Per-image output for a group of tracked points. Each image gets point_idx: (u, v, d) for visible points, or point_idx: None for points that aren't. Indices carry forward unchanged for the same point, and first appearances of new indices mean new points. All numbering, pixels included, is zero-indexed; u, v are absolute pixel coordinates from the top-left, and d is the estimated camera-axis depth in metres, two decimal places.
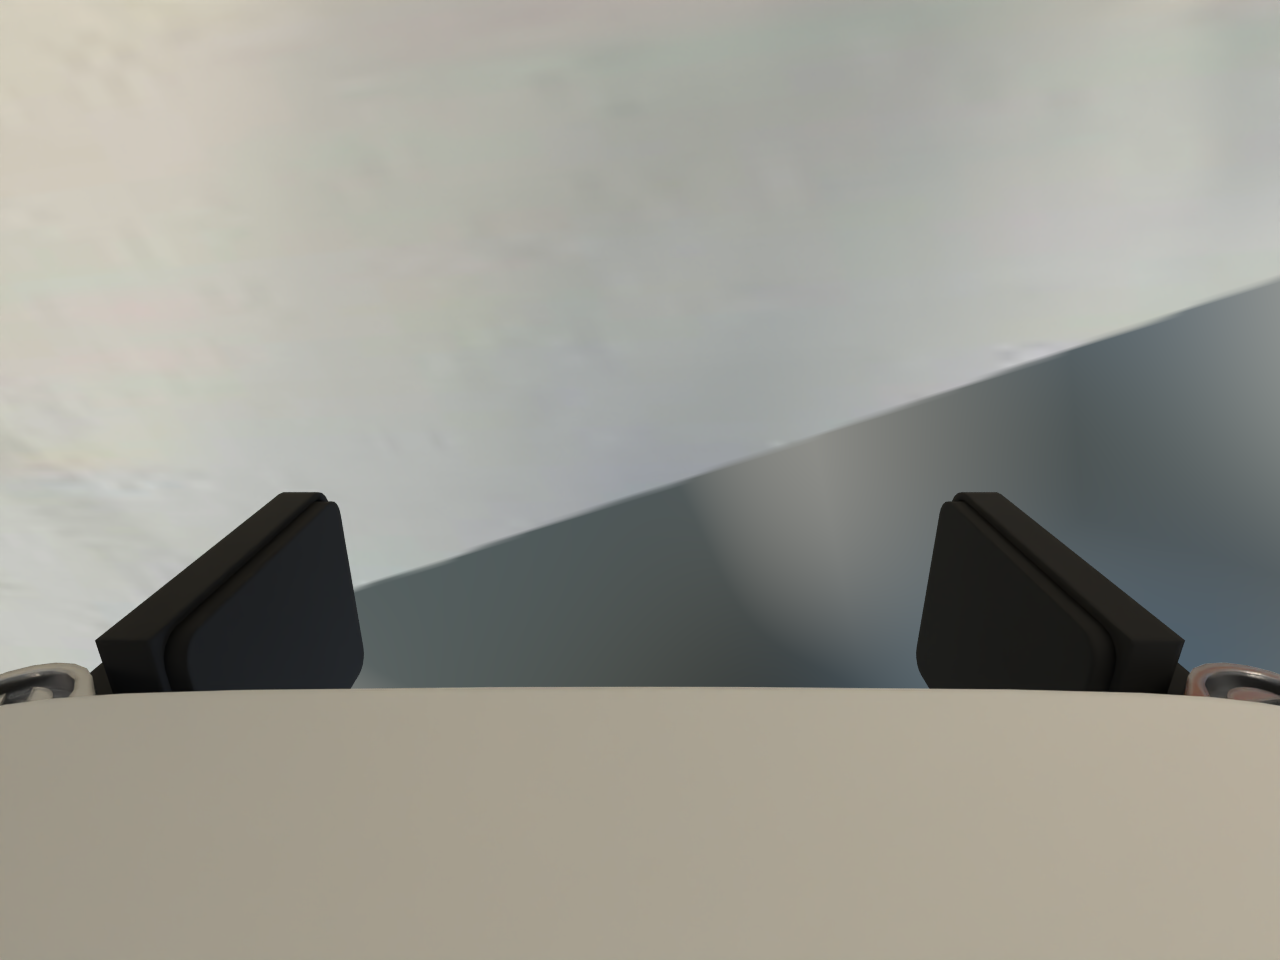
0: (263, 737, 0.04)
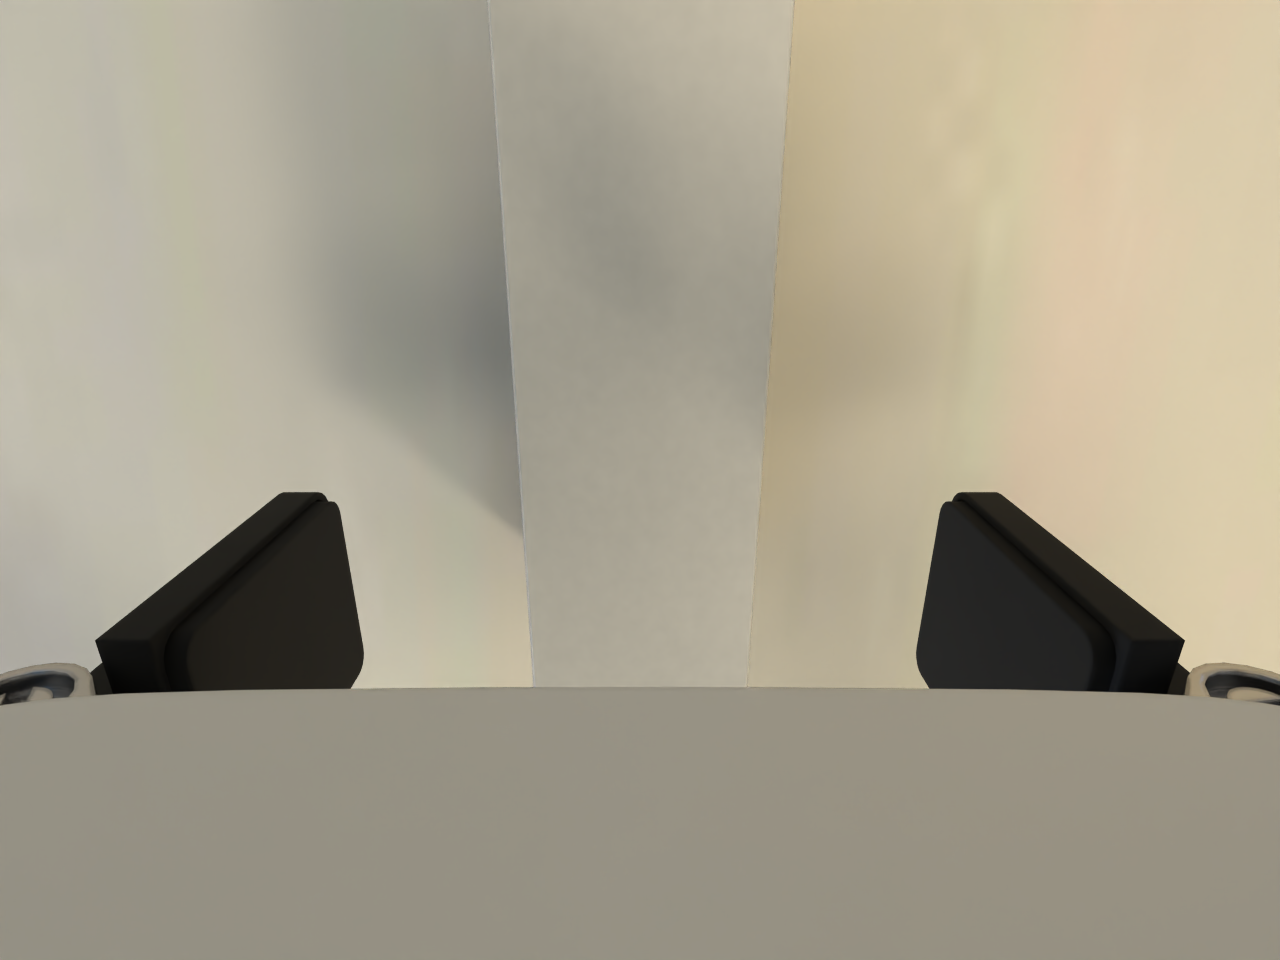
0: (263, 737, 0.04)
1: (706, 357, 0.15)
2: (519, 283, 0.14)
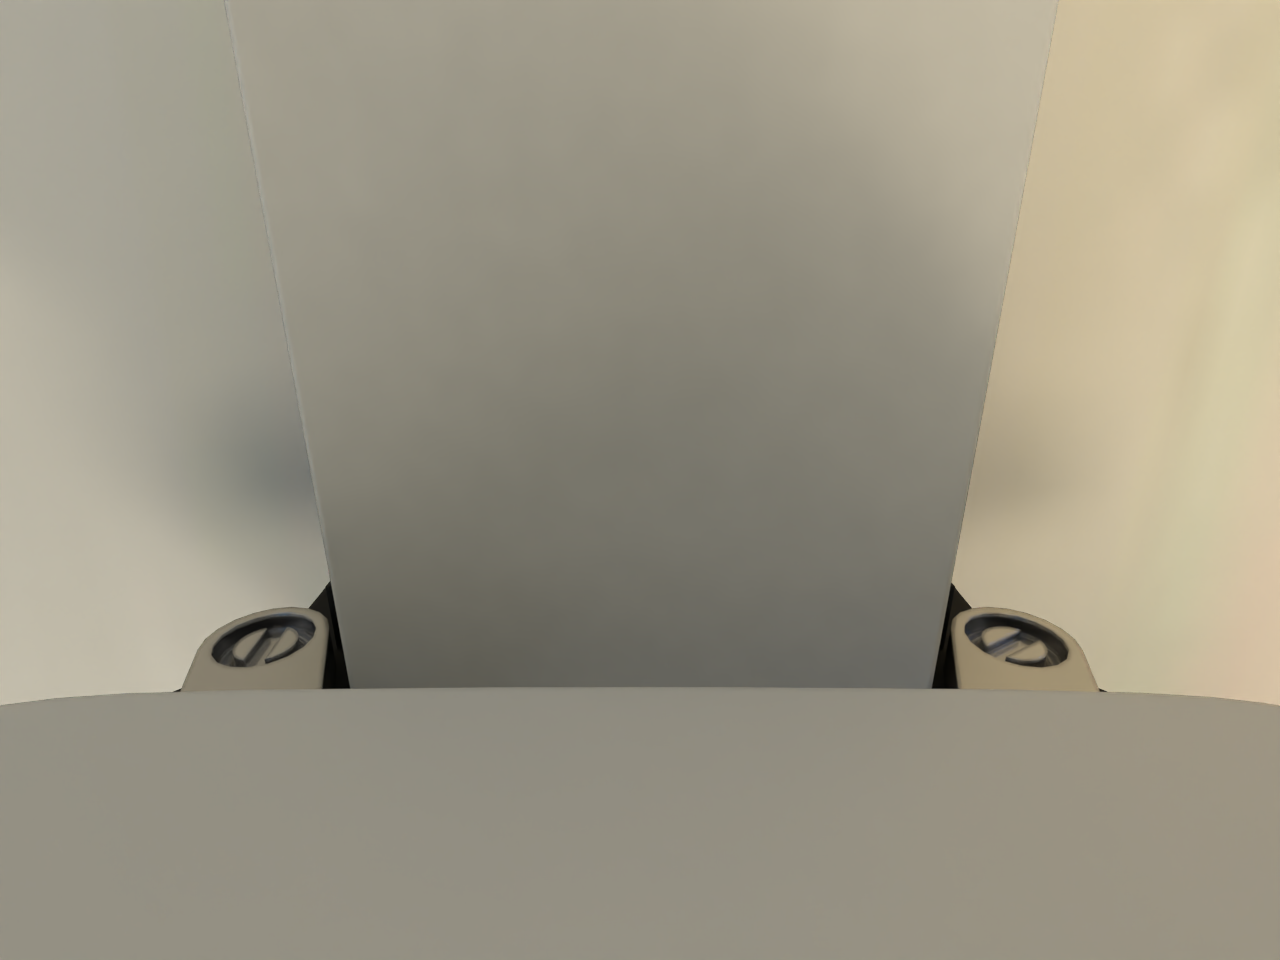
0: (263, 737, 0.04)
1: (800, 573, 0.06)
2: (329, 404, 0.05)
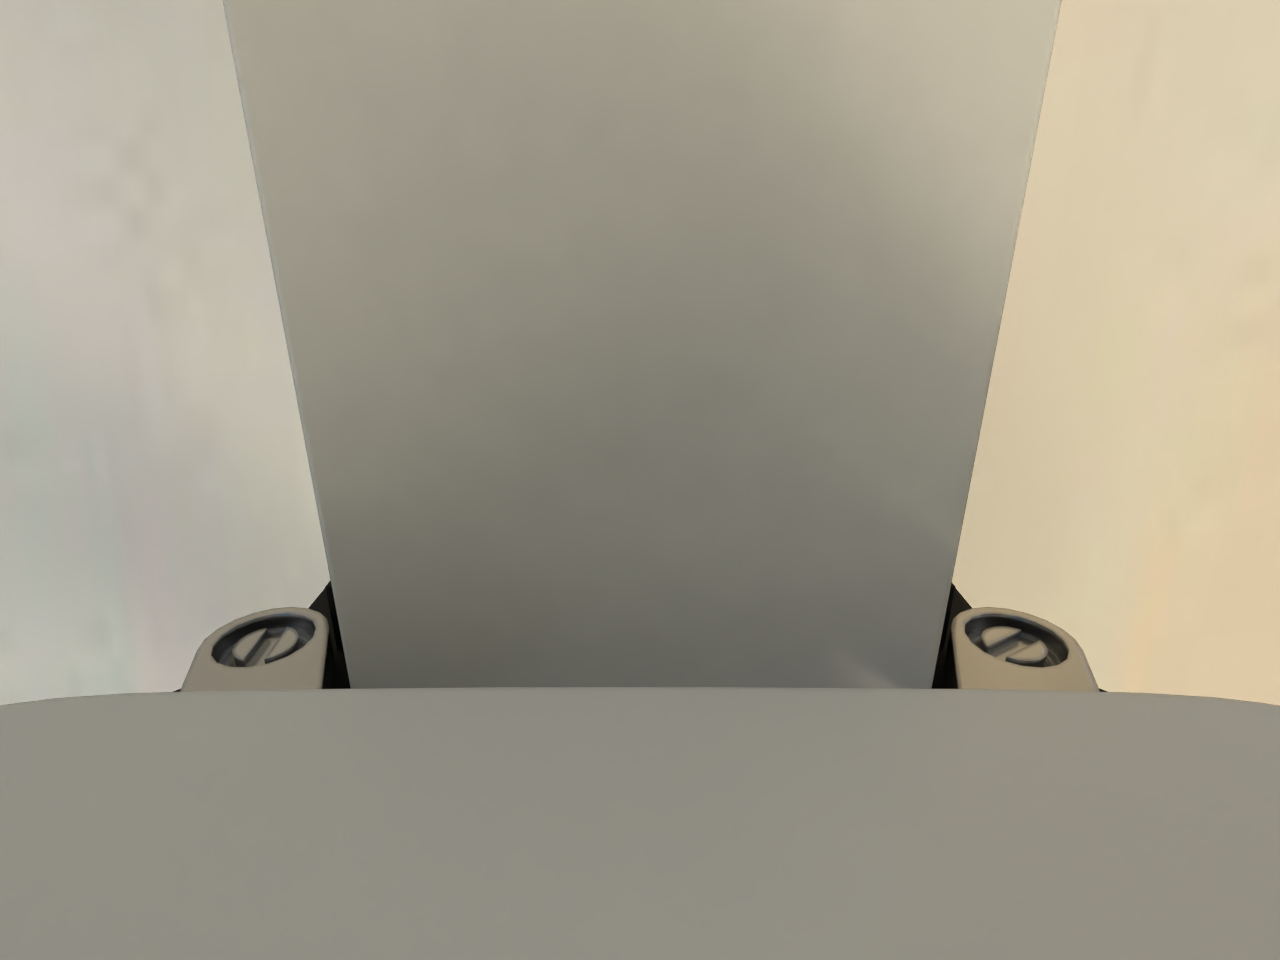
0: (263, 737, 0.04)
1: (801, 572, 0.06)
2: (328, 403, 0.05)
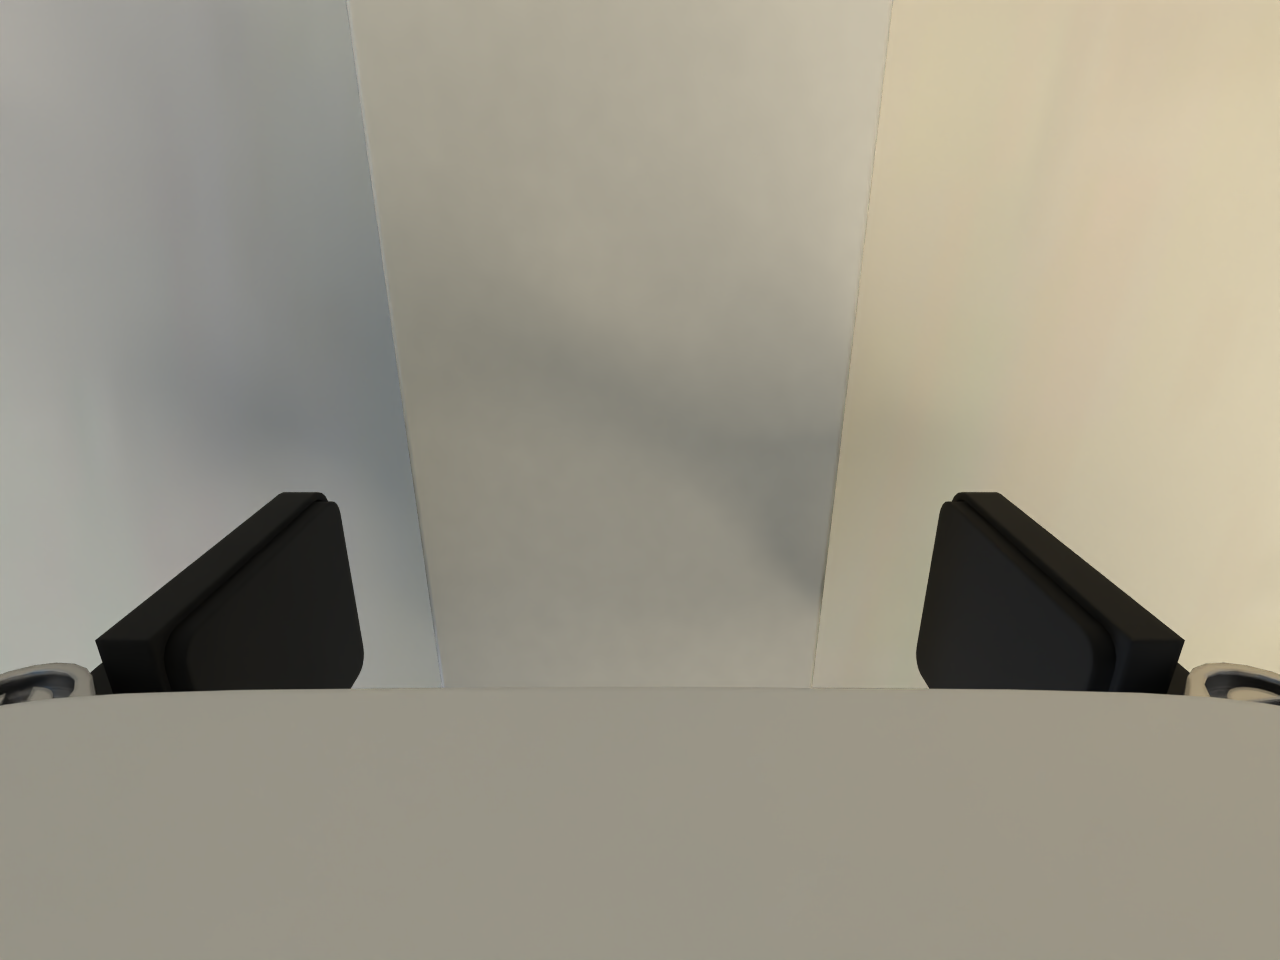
0: (263, 737, 0.04)
1: (736, 423, 0.09)
2: (410, 301, 0.08)
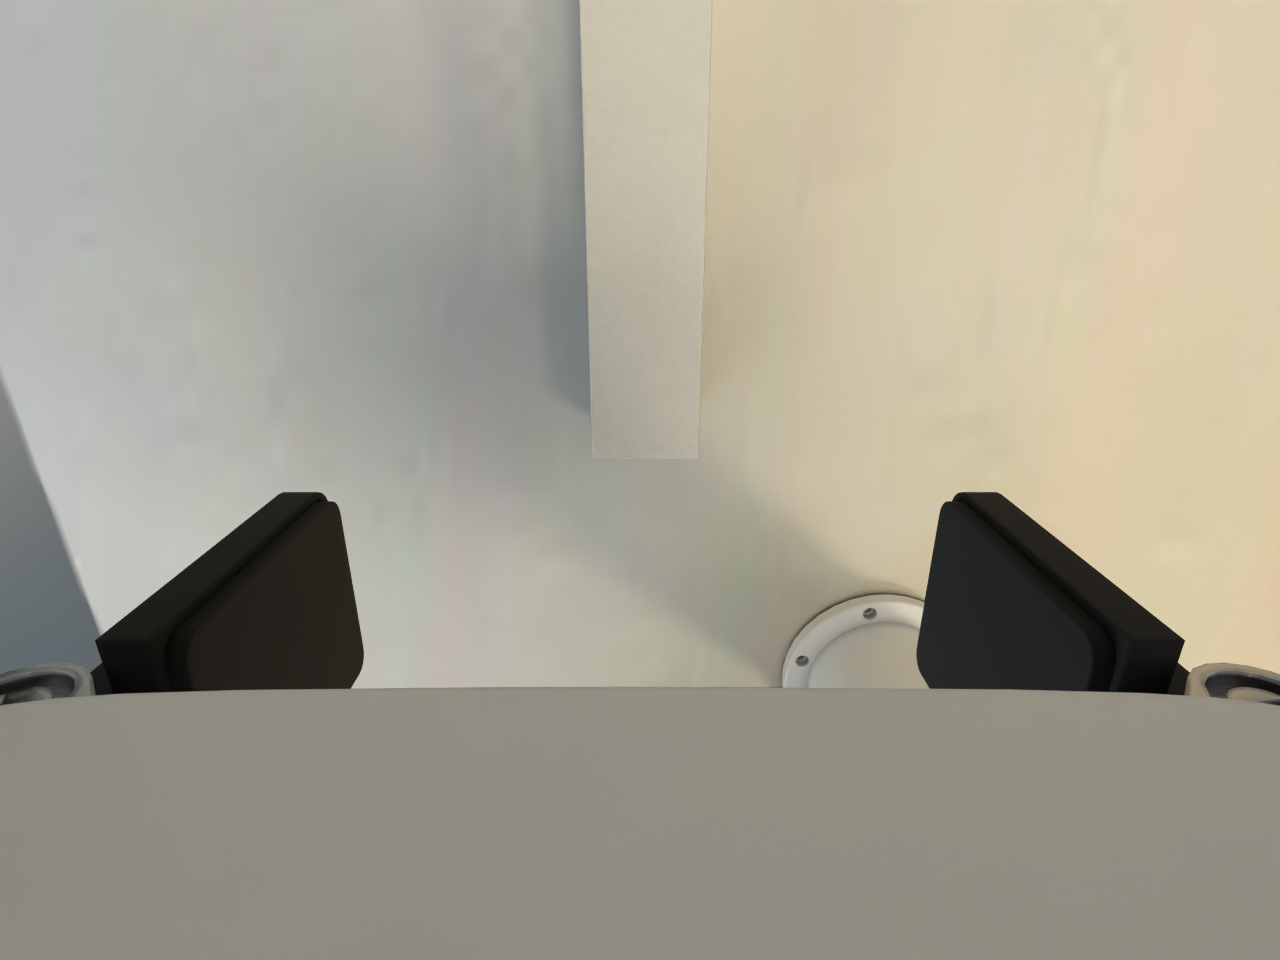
0: (263, 737, 0.04)
1: (675, 280, 0.32)
2: (592, 246, 0.32)
